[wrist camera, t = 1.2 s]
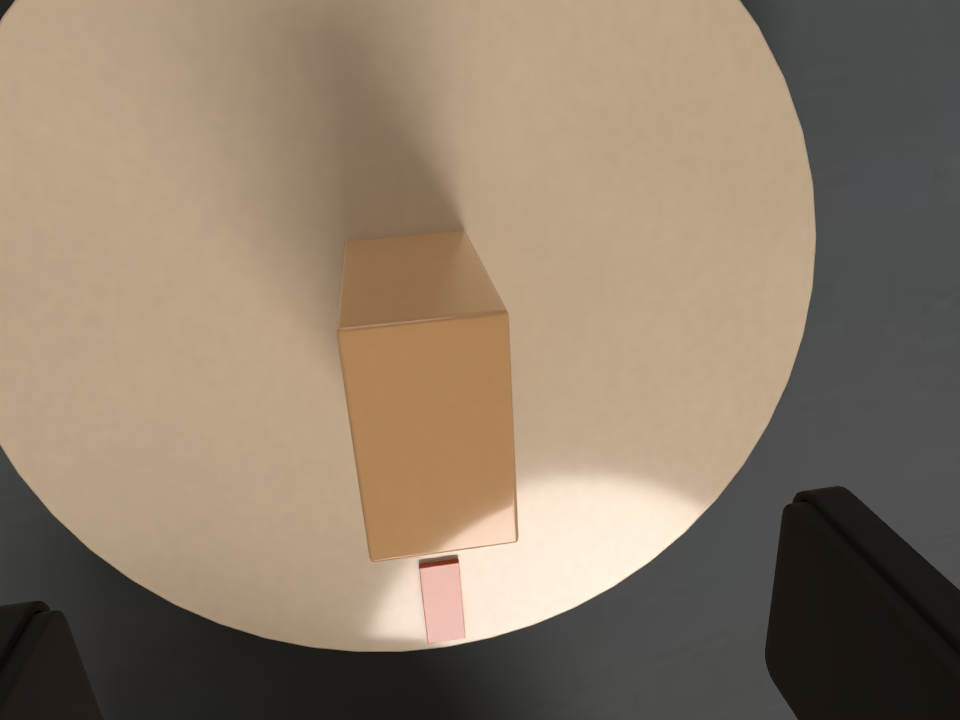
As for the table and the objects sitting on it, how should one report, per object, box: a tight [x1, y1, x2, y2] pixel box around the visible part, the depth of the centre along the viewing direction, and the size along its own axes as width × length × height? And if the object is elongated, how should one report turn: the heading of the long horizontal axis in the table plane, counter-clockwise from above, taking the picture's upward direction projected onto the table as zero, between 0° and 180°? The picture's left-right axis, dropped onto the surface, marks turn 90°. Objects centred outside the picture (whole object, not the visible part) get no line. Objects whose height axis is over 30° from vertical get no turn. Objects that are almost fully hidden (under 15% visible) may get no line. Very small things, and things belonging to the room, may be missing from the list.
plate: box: [0, 0, 816, 652], centre depth 17 cm, size 22×22×7 cm
